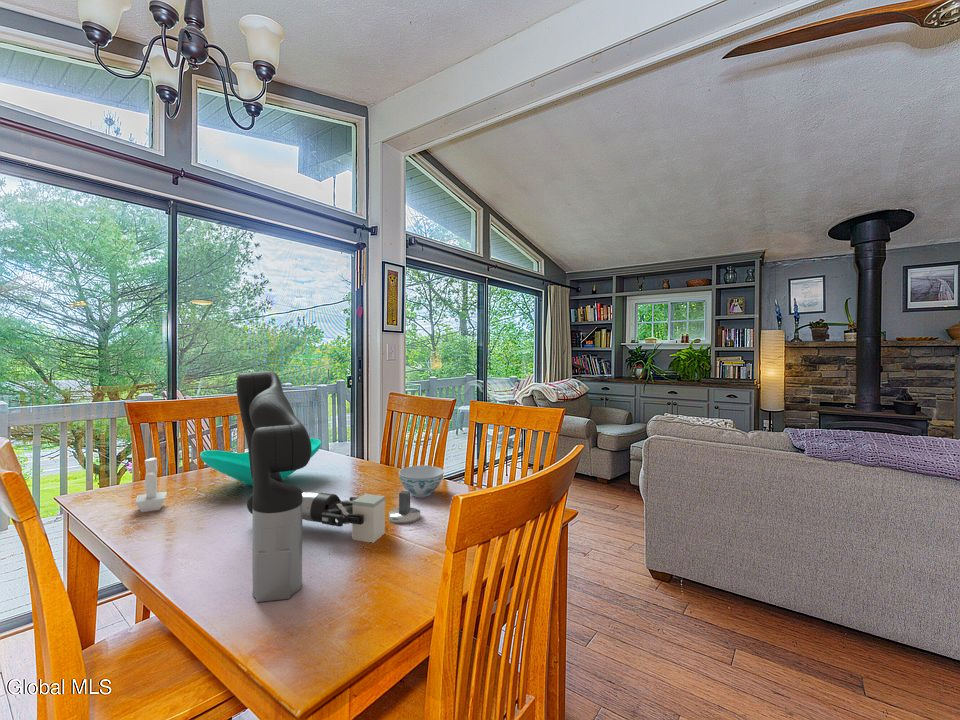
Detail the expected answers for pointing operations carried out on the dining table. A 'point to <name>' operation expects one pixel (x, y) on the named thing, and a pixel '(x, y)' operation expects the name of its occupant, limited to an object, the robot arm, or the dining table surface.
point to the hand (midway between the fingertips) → (371, 514)
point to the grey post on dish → (404, 510)
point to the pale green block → (369, 518)
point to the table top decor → (241, 462)
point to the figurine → (150, 489)
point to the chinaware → (421, 479)
